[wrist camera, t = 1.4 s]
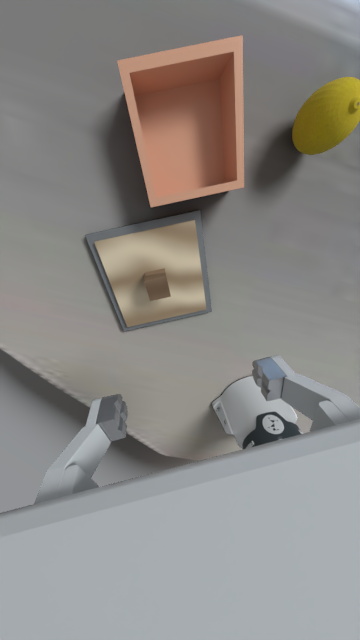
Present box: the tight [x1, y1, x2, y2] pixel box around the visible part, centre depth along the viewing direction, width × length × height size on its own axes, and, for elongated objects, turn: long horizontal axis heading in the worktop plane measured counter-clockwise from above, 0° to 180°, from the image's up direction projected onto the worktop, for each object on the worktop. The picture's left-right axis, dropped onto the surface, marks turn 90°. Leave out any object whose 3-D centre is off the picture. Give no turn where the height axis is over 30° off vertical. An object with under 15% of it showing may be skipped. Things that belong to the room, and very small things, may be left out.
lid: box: [94, 220, 206, 327], centre depth 28 cm, size 14×14×5 cm
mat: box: [85, 210, 212, 331], centre depth 31 cm, size 16×16×1 cm
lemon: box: [292, 77, 360, 155], centre depth 21 cm, size 6×6×8 cm
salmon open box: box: [117, 35, 244, 208], centre depth 22 cm, size 11×11×5 cm
